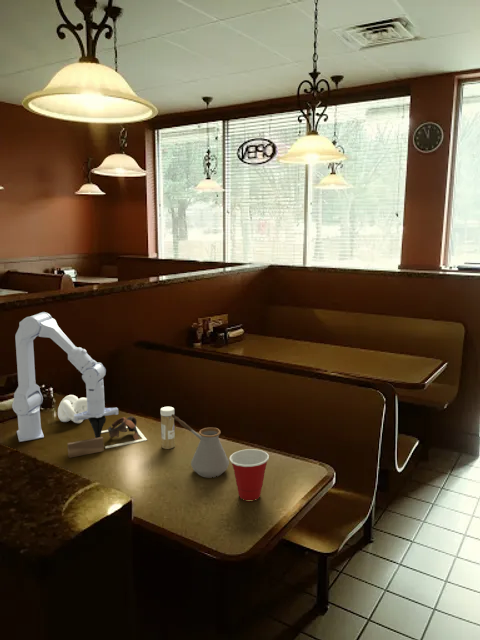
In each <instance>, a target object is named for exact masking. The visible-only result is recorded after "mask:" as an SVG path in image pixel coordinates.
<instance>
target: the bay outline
mask: <svg viewBox="0 0 480 640" xmlns="http://www.w3.org/2000/svg"><path fill="white" fill-rule="evenodd" d="M126 429H128V427H127V426H126ZM136 429H137V431H138V434H139V438H141V439H137V440H130V441H124V442H121V443H116V444H110V445H106V446H105V445H104V448H105V449H110V448H111V449H112V448H115V447H120V446H126V445H132V444H134V443H141V442H145V441H148V439H147V437H145V435H144V434H143V433H142V431H141V430H140V429H139V427H137V426H136ZM105 433H110V432H109V431H108V429H106V430H102V431H101V434H105Z"/></svg>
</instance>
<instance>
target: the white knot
mask: <svg viewBox="0 0 480 640" xmlns="http://www.w3.org/2000/svg"><path fill="white" fill-rule="evenodd" d="M58 405H59V406H58V408H57V416H58V419H59V421H60V422H63V423H67V422H69V421H72V422H73V423H75V424H81V423H82V422H83V421H84V420H78V421H77V422H75V421H74V414H78V413H82V412H85V411H87V397H80V398H78V396H76V395H74V394H69V395H66V396H65V397H64V398H62V400H61V401H60V403H59V404H58Z"/></svg>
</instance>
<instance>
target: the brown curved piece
mask: <svg viewBox="0 0 480 640" xmlns="http://www.w3.org/2000/svg"><path fill="white" fill-rule="evenodd" d="M126 427H128V428H127V429H128V430H127V429H126ZM136 427H137V419H136V417H135V416H133V415H130V416H129V417H127V418H126V417H125V416H123V417H120V418H118V419H117V420H115V421H113V423H112V424H111V426H109V427H108V429H107V430H108V431H109V432H108V433H109V434H108V435H109V437H110V438H113V437H117V438H119V433H127V432H132V433H133V432H134V434H133V435H132V438H133V439H134V440H133V441H135V440H139V438H140V436H139V434H138V431H137V429H136Z"/></svg>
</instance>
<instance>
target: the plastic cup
mask: <svg viewBox="0 0 480 640" xmlns="http://www.w3.org/2000/svg"><path fill="white" fill-rule="evenodd" d="M269 457H270V454H268V452H266V451H264V450H262V449H257V448H256V449H255V448H246V449H242V450H241V449H240V450H237V451H235V452H233V453H232V454H231V455H229V458H228V460H229V462H230V463H231V465H232V468H233V472H234V478H235V483H236V487H237V493H238V496H240V497H239V499H241V498H242V499H244V500H255V499H258V498H259V497H261V493H262V488H263V484H264V479H265V472H266V468H267V463H268V461H269ZM242 499H241V500H242ZM259 499H260V498H259ZM259 499H258V500H259ZM244 500H243V501H244Z"/></svg>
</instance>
